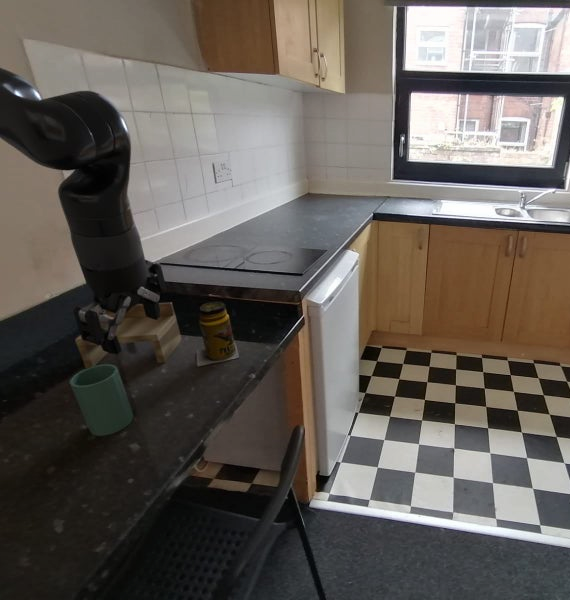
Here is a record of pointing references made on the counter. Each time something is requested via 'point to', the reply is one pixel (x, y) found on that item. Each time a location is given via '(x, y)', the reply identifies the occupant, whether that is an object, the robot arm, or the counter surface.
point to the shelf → (139, 333)
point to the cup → (102, 399)
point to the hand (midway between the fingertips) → (134, 333)
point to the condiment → (215, 335)
